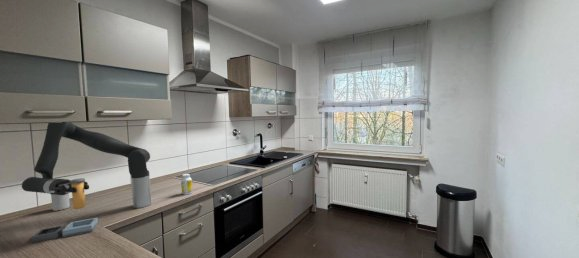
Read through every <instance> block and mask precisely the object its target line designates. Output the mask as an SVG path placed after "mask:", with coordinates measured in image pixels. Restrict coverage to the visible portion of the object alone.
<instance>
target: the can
mask: <svg viewBox="0 0 579 258" xmlns="http://www.w3.org/2000/svg"><path fill="white" fill-rule="evenodd" d="M50 197H51V208H52V211H55V212H59V211H58V210H60V211H64V210H63V209H65V210H67V209H69V208H70V205H71V204H70V203H71V202H70V193H68V194H66V195H51V194H50ZM66 208H67V209H66Z"/></svg>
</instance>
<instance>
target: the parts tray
mask: <svg viewBox="0 0 579 258" xmlns="http://www.w3.org/2000/svg"><path fill="white" fill-rule="evenodd" d="M97 225H99V221H98V217H93V218H87V219H82V220H81V219H80V220H77V221H70V223H68V225H67V226H65V229H64V230H63V231H62V232H63V233H62V238H66V237H67V238H68V237H73V236H77V235H83V234H87V233H92V232H94V230H95V228H96V227H97Z"/></svg>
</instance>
